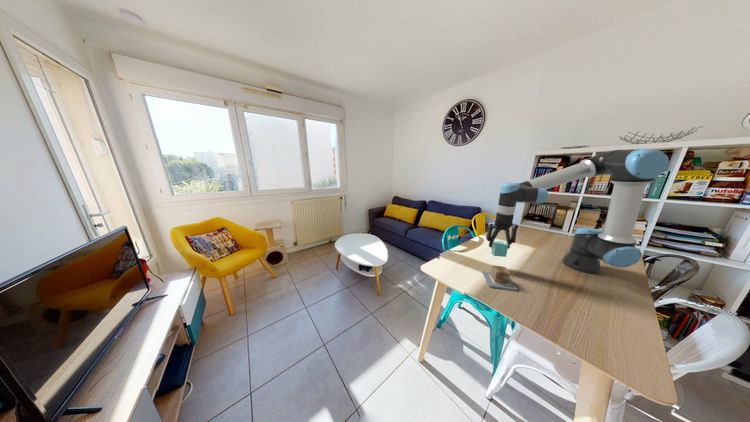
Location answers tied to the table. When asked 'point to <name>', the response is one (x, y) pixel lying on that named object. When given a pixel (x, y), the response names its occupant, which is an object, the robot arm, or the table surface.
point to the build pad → (499, 285)
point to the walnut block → (500, 274)
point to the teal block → (500, 249)
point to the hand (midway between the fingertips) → (497, 252)
